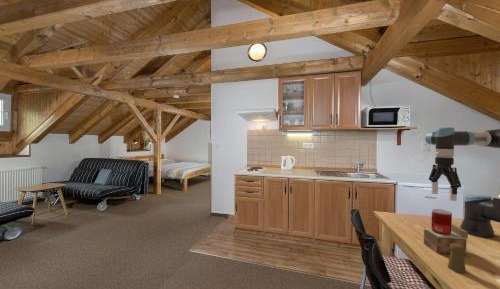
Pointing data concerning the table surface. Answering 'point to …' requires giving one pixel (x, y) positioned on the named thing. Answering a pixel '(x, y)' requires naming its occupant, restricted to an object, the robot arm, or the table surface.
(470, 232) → the robot arm
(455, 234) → the lid
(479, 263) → the table surface
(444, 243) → the box
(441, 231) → the canned food
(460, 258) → the cork
